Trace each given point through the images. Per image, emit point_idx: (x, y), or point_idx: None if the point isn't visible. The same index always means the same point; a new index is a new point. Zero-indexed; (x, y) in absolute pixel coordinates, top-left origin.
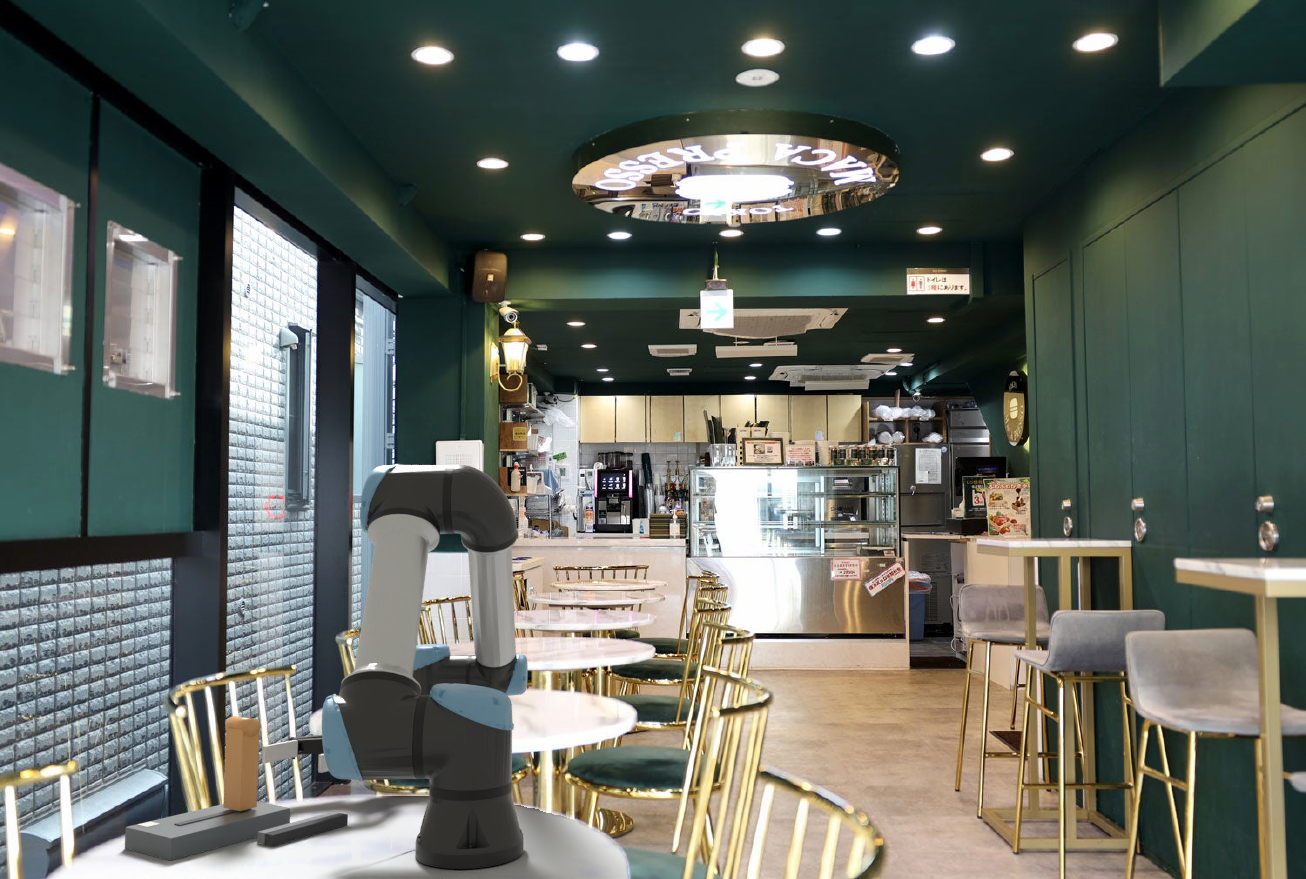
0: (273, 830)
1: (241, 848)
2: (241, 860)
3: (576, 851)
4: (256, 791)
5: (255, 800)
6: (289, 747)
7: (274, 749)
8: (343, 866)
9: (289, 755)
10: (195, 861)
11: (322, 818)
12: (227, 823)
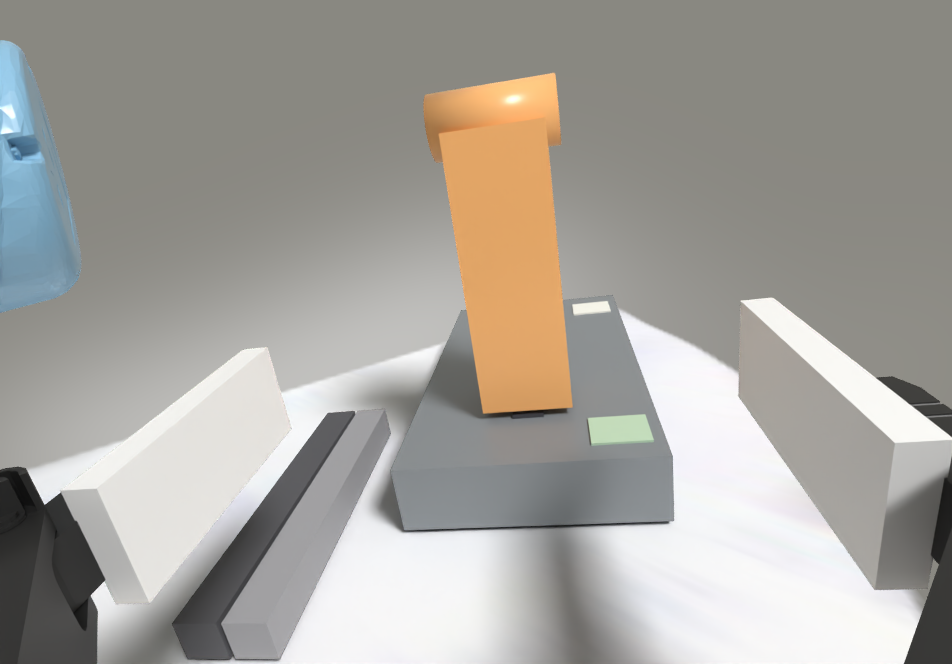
0: (351, 426)
1: (405, 415)
2: (348, 392)
3: None
4: (476, 365)
5: (479, 390)
6: (828, 435)
7: (766, 357)
8: (106, 451)
9: (829, 501)
10: (429, 364)
11: (264, 541)
12: (442, 360)
